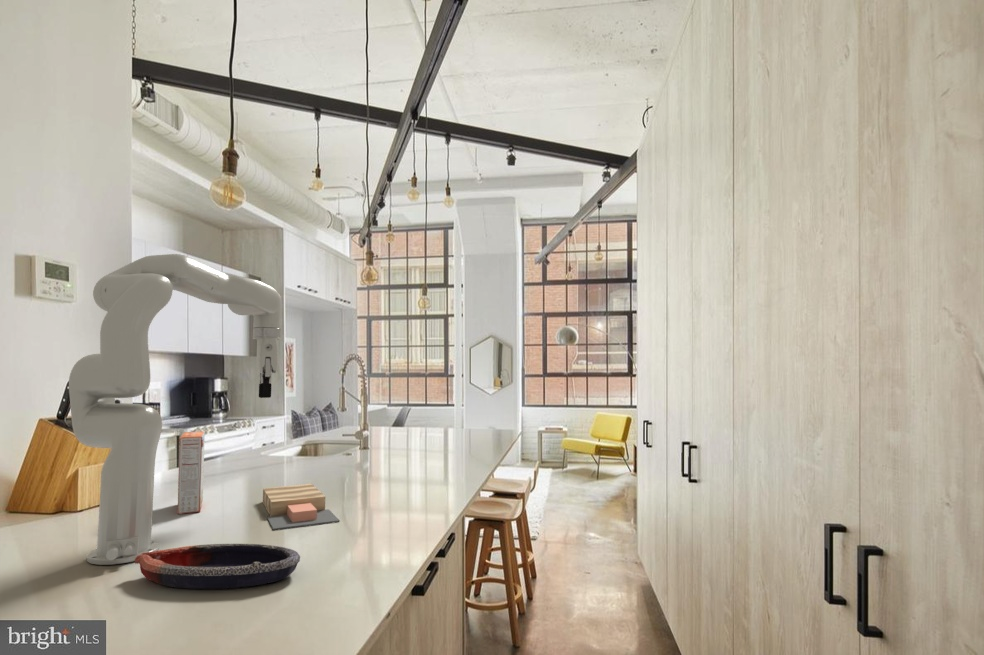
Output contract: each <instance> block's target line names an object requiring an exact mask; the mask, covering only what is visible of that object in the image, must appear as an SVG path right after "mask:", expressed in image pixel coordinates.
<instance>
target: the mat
mask: <svg viewBox="0 0 984 655" xmlns="http://www.w3.org/2000/svg"><path fill="white" fill-rule="evenodd" d="M266 519H267V521H268V523H269V524H270V525H269V526H271V528H273V529H272V530H273V531H278V529H280V530H286V529H287V528H288V529H294V528H295V527H296V528H302V526H303V527H310V526H309V525H311V526H318V525H317V524H319V525H325V524H324V523H327V524H333V523H332V522H335V523H340V522H341V520H340V519H339V518H338V517H337V516H336V515H335V514H334V513H333V512H332V511H331V510H330V509H325V510H319V511H317V519H314V520H306V521H298V522H292V521H291V519H290V518H289V516H288V515H287V514H284V515H275V516H270V515H269V516H266ZM339 521H340V522H339Z"/></svg>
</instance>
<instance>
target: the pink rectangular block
mask: <svg viewBox="0 0 984 655" xmlns="http://www.w3.org/2000/svg"><path fill="white" fill-rule="evenodd" d="M287 515H288V516H289V518H290V519H291V521H292V522H298V521H306V520H314V519H317V509H316V508H315V507H314V506H313V505H312V504H311V503H302V504H293V505H287Z"/></svg>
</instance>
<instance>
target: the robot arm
mask: <svg viewBox="0 0 984 655" xmlns="http://www.w3.org/2000/svg"><path fill="white" fill-rule="evenodd" d="M173 290H174V291H177V292H180V293H182V294H185V295H187V296H191V297H192V298H193V297H194V298H195V299H199V300H201V301H203V302H206V303H212V304H220V305H227V307H228V309H229V310H230V311H231V312H232V313H234V314H236V315H238V316H253V325H252V326H253V327H252V330H253V331H252V340H254V341H256V372H257V373H258V374H259V383H258V397H259V398H260V399H262V398H264V399H266V398H267V399H269V398H272V374H277V372H279V371H278V370H279V369H278V368H279V366H278V361H279V360H278V352H279V351H278V341H281V335H282V334H281V332H282V331H281V329H282V328H281V327H282V306H283V305H282V304H283V303H282V296H281V295H280V294H279V292H278V291H277V290H276V289H275V288H274V287H272V286H271V285H268V284H266V283H265V282H262V281H260V280H257V279H254V278H250V277H244V276H240V275H237V274H233V273H229V272H224V271H222V270H218V269H216V268H214V267H211V266H209V265H207V264H205V263H203V262H201V261H200V260H199V261H198V260H196V259H194V258H193V257H190V256H188V255H185V254H181V253H169V254H168V253H167V254H154V255H148V256H143V257H141V258H139V259H136V260H133V261H132V262H130V263H128V264H125V265H124V266H122V267H120V268H118V269H116V270H114V271H111V272H109V273H108V274H106V275H104V276H103V277H100V279H99V280H98V281H97V282H96V283H95V285H94V287H93V291H92V296H93V299H94V302H95V304H96V306H98V307H99V308H100V309H101V310H103V311H104V312H106V314H105V316H104V317H103V320H102V322H101V326H100V330H99V331H100V332H99V333H100V334H99V346H100V347H99V349H100V350H99V351H100V352H99V353H92V354H88V355H86V356H85V355H84V357H81V358H80V359H79V360H78V361H76V362H75V364H74V365H73V366H72V368H71V371H70V374H69V378H68V392H69V393H68V394H69V402H70V403H69V406H70V414H71V416H70V417H71V424H72V431H73V434H74V437H75V438H76V439H77V441H78V442H79V443H81V444H82V445H84V446H85V447H90V448H98V449H99V448H100V449H110V451H109V453H108V455H107V456H106V459H105V460H104V463H103V465H102V468H101V472H100V487H99V490H100V492H99V510H98V525H97V528H98V529H97V540H96V541H97V542H96V543H97V544H96V548H95V549H94V550H91V551H90V552H89V553H87V555H86V561H87V563H89V564H92V565H97V566H111V565H121V564H126V563H133V562H135V558H136V557H137V556H138V555H141V554H142V553H147V552H153V551H159V550H160V544H159V543H158V542H155V541H152V530H153V529H152V526H153V508H154V488H155V467H156V466H155V465H156V457H157V450H158V444H159V442H160V437H161V434H162V431H163V430H162V429H163V420H162V417H161V415H160V413H159V412H158V411H157V410H156V409H155V408H154V407H151V406H150V405H147V404H143V403H126V402H125V403H124V402H123V403H116V399H130V398H131V399H132V398H137V397H139V396H142V395H143V394H144V393H146V392H147V391H148V389H149V388H150V384H151V365H150V352H149V350H150V349H149V329H150V326H151V325H152V324H151V323H152V321H154V318H155V317H156V316H157V315H158V313H159V312H160V311H161V310H162V309H164V308H165V307H166V306H167V305H168V304H169V302H170V301H171V299H172V297H173Z"/></svg>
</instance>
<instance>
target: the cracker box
mask: <svg viewBox="0 0 984 655" xmlns="http://www.w3.org/2000/svg"><path fill="white" fill-rule="evenodd" d="M205 435H206V434H205V431H204V430H203V431H185V432H183V433H182V434H181V436H180V437H179V450H178V474H177V475H178V477H177V478H178V481H177V482H178V483H177V485H178V486H177V515H184V513H186V514H191V513H200V512H201V510H202V504H203V501H204V500H203V498H204V497H203V495H204V470H205V468H204V467H205Z"/></svg>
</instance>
